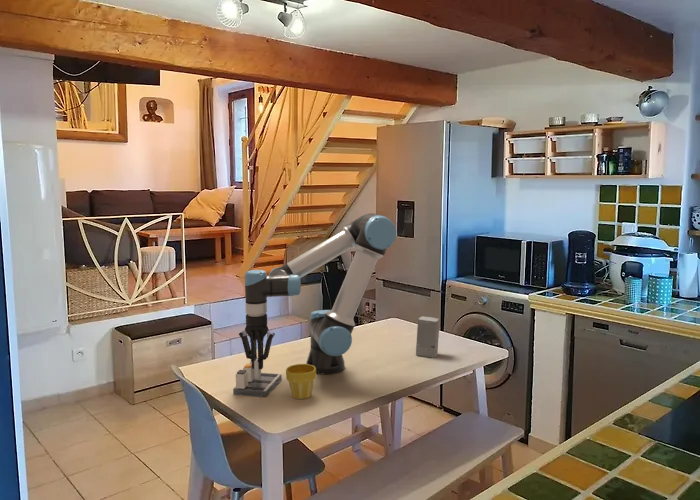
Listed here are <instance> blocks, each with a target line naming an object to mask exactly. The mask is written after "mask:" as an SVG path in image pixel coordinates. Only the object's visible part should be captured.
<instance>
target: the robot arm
mask: <svg viewBox="0 0 700 500" xmlns="http://www.w3.org/2000/svg"><path fill="white" fill-rule="evenodd" d="M396 228H397V227H396V225H395V223H394V222H393V221H392V220H391V219H389V218H388V217H386V216H384V215H381V214H376V213H365V214H362V215H361V216H359V217H358V218H356V219H355V220H353V221H351V222H349V223H348V224H347V225H345V226H343V229H342V231H340V232H338V233H337V234H334V235H333V236H331V237H330V238H328V239H326V240H324V241H323V242H321V243H319V244H317V245H316V246H314V247H312V248H311V249H309V250H307V251H305V252H304V253H302V254H301V255H298V256H297V257H296V258H294V259H292V260H290V261H288V262H287V263H286V264H283V265H282V266H279V267H278V266H277V267H273V269H271V270H270V272H269V274H267V271H266V270H263V269H252V270H248V271H246V272H245V274H244V293H245V295H244V296H245V314H246V315H245V327H244V330H242V331H240V332H239V333H238V336H239V337H240V339H241V341H242V345H243V350H244V354H245V356H246V359H247V360H248V359H249V360H250V361H251V360H252V369H254V379H259V378H260V377H261V373H262V370H263V368H264V361H265V360H267V359H268V358H269V353H270V350H271V345H272V341H273V338H274V337H275V335H276V334H275V332H271V331H270V329H269V327H268V314H267V312H268V298H272V297H273V298H275V297H294V296H298V295H300V294H301V290H302V288H301V287H302V284H301V278H303V277H304V276H307V275H308V274H310V273H312V272H313V271H315V270H317V269H319V268H320V267H322V266H324V265H325V264H327V263H329V262H330V261H332V260H334V259H336V258H337V257H339V256H340V255H342V254H344V253H346V252H348V251H349V250H350V249H355V253H354V256H353V258H352V260H351V263H350V266H348V267H349V268H348V270H347V272H346V275H345V278H344V279H343V281H342V283H341V284H342V285H341V287H340V289H339V290H338V291H339V292H338V294H337V296H336V298H335V300H334V301H335V302H334V303H333V306H332V308H331V309H321V310H314V311H311V313H310V317H309V321H310V322H309V327H310V329H309V330H310V336H309V337H310V350H309V353H308V357H307V360H306V363H305V364H309V365H313V366H315V368H316V374H319V375H330V374H337V373H339V372H341V371H343V370H344V369H345V359H344V356H343V355H345V354H346V353H347V352H348V351H349V350H350V348H351V347H352V342H353V340H352V339H353V337H352V333H353V331H354V328H355V326H356V323H355V321H354V317H355V315H356V313H357V310H358V308H359V306H360V303H361V300H362V299H363V297H364V294H365V291H366V289H367V286H368V284H369V282H370V279H371V277H372V274H373V273H374V269H375V268H376V264H377V262H378V260H380V259H381V258H384V256H385V254H386V252H387V249H388V248H390V247H391V246H393V244H394V243H395V241H396V238H397V229H396ZM265 337H266V341H265V340H264V339H265ZM264 341H265V345H264ZM256 358H258V359H256Z"/></svg>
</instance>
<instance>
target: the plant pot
mask: <svg viewBox="0 0 700 500" xmlns="http://www.w3.org/2000/svg"><path fill="white" fill-rule="evenodd" d="M285 377H286V378H285V379H286V381H288V384H289V389H290V392H291V396H292V397H293V399H296V400H305V399H309V398H311V396H312V392H313V387H314V382H315V379H316V378H317V373H316V368H315V366H313V365H309V364H306V363H298V364H292V365H290V366H288V367H286V369H285Z"/></svg>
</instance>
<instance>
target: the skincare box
mask: <svg viewBox="0 0 700 500" xmlns="http://www.w3.org/2000/svg"><path fill="white" fill-rule="evenodd" d="M440 321H441V319H440V318H437V317H432V316H423V315H422V316H420V317H418V318H417V330H416V342H415V343H416V346H415V356H417V357H426V358H433V359H435V358H436V356H437V355H438V353H439V351H438V350H439V336H440V333H439V332H440Z"/></svg>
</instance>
